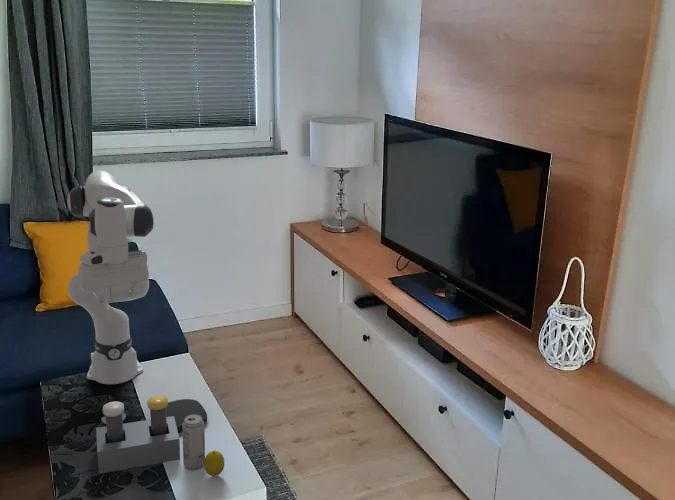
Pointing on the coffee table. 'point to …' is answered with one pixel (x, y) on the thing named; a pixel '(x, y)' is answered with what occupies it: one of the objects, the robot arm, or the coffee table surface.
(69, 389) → the coffee table surface
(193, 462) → the energy drink can
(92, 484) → the coffee table surface
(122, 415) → the pacifier
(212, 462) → the lemon
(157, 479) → the coffee table surface
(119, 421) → the knob white
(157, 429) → the knob mustard
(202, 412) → the media streaming box
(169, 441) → the mount
